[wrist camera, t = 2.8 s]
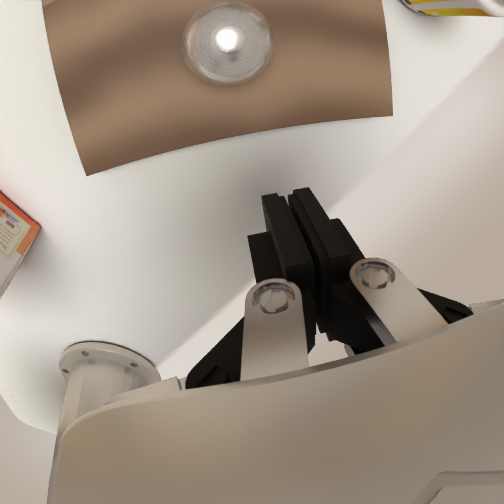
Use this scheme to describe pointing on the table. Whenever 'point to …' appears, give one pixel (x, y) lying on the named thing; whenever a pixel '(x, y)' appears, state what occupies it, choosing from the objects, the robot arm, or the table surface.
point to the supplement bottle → (457, 7)
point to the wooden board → (202, 92)
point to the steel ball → (227, 43)
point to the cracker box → (13, 240)
